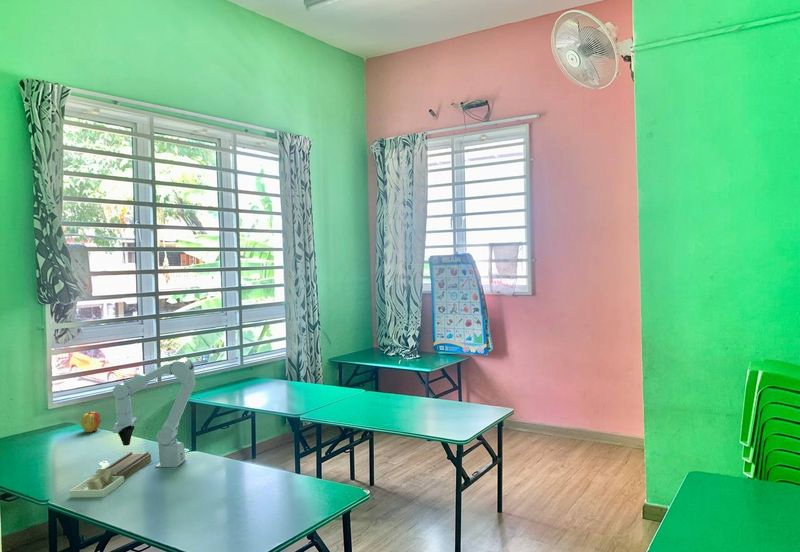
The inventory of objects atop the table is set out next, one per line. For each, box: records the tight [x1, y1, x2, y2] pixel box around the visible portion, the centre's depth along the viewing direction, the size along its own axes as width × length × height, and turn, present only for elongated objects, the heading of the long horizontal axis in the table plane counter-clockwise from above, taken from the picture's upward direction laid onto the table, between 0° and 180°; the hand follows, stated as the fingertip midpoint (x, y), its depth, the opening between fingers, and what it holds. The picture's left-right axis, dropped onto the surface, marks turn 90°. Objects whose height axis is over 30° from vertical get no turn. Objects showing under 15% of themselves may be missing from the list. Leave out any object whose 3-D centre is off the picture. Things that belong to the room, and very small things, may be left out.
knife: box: [96, 460, 111, 473], centre depth 236 cm, size 30×2×8 cm
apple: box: [80, 411, 102, 433], centre depth 288 cm, size 9×9×10 cm
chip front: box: [86, 474, 105, 490], centre depth 212 cm, size 4×4×4 cm
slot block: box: [105, 451, 152, 481], centre depth 231 cm, size 10×22×4 cm, turn 175°
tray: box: [68, 476, 125, 498], centre depth 213 cm, size 13×13×2 cm
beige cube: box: [95, 468, 113, 485], centre depth 216 cm, size 4×4×4 cm
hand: (126, 444), depth 234 cm, fingers closed
